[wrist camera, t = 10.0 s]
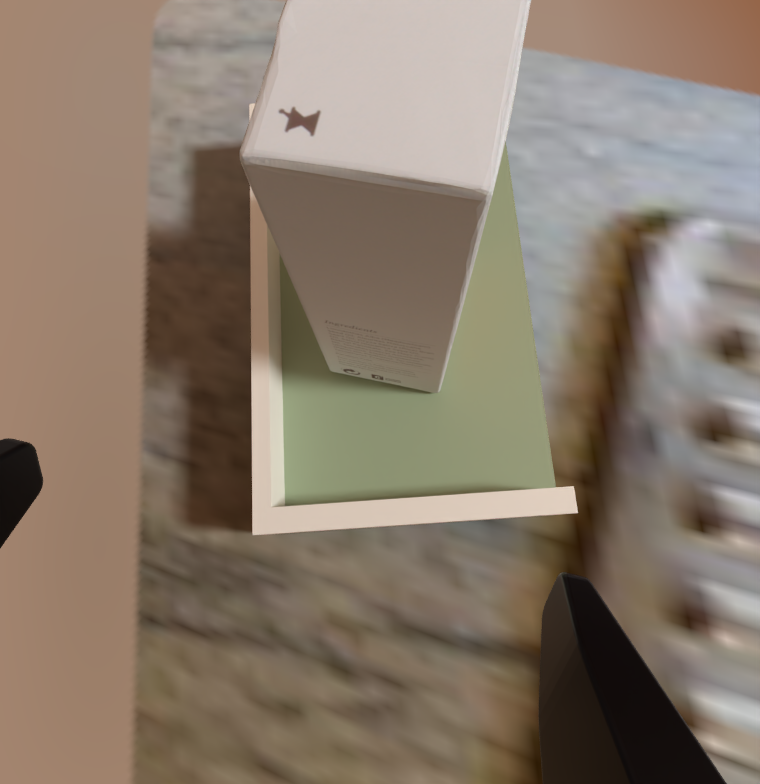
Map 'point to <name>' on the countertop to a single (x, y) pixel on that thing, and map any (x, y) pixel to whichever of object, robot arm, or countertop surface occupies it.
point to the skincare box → (384, 169)
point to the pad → (401, 408)
